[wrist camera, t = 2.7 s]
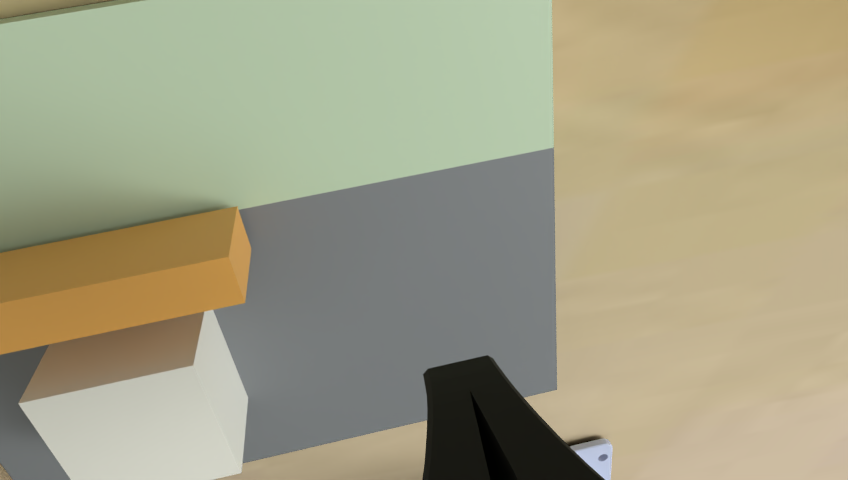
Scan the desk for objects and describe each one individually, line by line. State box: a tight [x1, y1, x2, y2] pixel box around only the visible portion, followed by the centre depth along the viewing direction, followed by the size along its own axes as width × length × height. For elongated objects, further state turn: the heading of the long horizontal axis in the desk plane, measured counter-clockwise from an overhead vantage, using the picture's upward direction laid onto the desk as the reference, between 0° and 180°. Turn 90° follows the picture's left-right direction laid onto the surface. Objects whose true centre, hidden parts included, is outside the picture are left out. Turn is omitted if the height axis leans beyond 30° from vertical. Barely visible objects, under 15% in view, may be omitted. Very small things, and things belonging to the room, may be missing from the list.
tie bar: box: [0, 206, 251, 355], centre depth 18 cm, size 2×9×3 cm, turn 97°
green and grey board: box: [0, 0, 557, 480], centre depth 21 cm, size 18×22×1 cm
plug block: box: [18, 310, 248, 480], centre depth 20 cm, size 5×5×4 cm
